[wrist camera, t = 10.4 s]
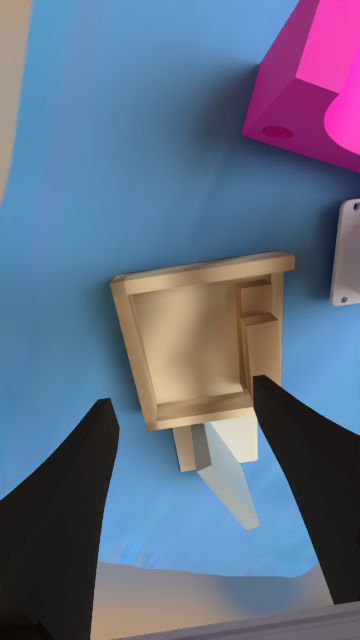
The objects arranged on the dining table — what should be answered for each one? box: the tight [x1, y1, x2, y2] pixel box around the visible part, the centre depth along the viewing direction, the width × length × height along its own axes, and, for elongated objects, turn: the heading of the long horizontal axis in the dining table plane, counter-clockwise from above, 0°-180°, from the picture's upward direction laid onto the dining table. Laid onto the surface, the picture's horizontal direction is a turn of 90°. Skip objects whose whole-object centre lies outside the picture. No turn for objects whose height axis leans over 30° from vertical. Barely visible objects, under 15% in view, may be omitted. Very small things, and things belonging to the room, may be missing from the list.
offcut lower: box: [235, 279, 273, 395], centre depth 21 cm, size 2×10×2 cm, turn 8°
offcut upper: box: [240, 312, 281, 400], centre depth 20 cm, size 2×7×2 cm, turn 11°
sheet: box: [191, 422, 260, 531], centre depth 24 cm, size 1×10×6 cm, turn 30°
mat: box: [172, 415, 258, 472], centre depth 27 cm, size 9×8×1 cm
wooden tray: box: [110, 251, 295, 431], centre depth 21 cm, size 13×14×3 cm
